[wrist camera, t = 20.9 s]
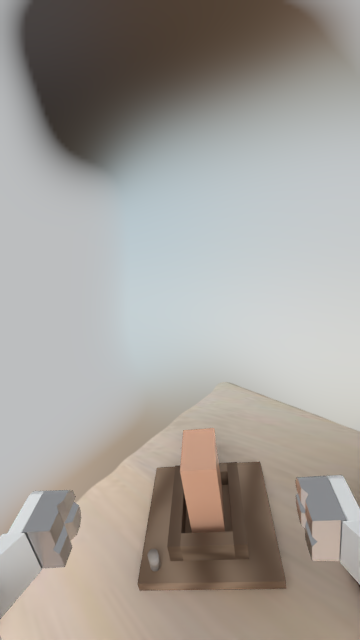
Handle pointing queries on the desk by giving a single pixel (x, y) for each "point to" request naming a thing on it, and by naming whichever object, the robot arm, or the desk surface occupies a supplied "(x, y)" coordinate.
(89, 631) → the desk surface
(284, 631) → the desk surface
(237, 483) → the keyed holder
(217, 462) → the keyed block
